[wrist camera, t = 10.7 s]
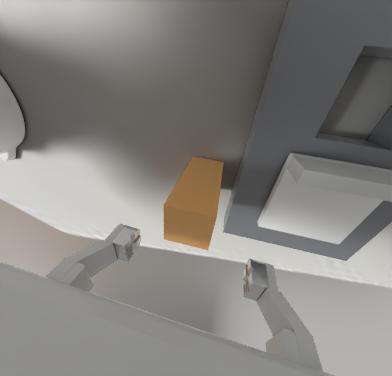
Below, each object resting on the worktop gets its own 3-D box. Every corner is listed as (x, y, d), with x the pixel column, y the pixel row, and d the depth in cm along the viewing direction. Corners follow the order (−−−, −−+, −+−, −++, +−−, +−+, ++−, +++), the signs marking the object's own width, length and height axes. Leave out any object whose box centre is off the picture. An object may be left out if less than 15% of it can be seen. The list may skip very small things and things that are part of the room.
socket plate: (224, 217, 24) (223, 232, 22) (298, -30, 11) (316, -64, 8) (333, 241, 23) (346, 260, 20) (581, -15, 9) (708, -51, 7)
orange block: (189, 182, 22) (163, 239, 14) (192, 156, 20) (163, 205, 12) (217, 188, 22) (207, 250, 14) (223, 161, 20) (216, 217, 11)
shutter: (257, 221, 19) (261, 246, 16) (290, 152, 14) (304, 169, 11) (335, 238, 18) (354, 268, 15) (399, 171, 13) (447, 195, 10)
